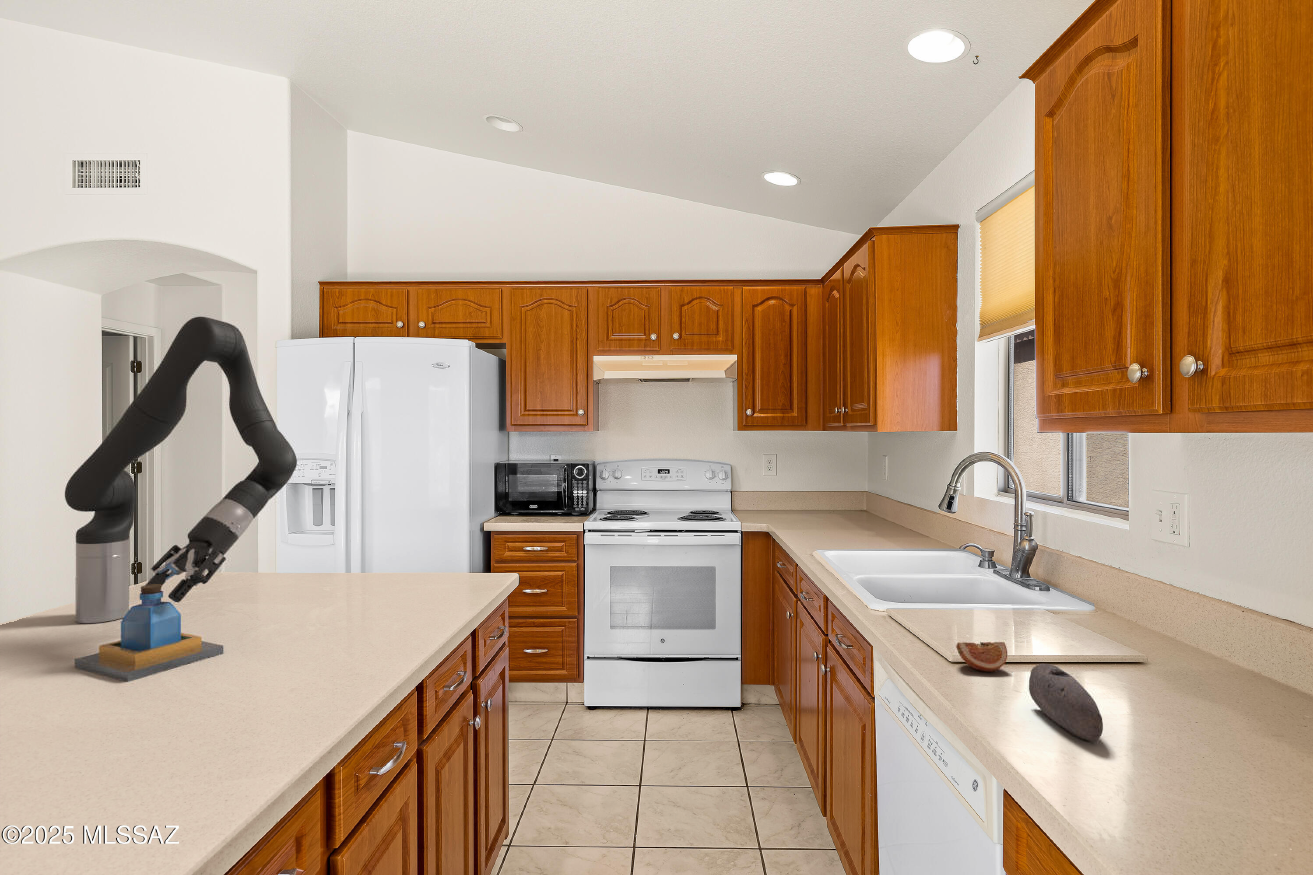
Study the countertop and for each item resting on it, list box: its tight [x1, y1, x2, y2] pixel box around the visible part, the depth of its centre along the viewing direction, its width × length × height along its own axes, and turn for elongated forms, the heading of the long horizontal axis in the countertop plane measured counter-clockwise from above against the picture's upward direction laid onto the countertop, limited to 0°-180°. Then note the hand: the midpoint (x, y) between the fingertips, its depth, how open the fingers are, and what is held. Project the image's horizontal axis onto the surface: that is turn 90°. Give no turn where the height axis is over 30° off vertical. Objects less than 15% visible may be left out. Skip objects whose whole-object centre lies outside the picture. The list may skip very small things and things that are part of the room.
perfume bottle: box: [120, 584, 182, 652], centre depth 124 cm, size 6×6×12 cm
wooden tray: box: [74, 632, 224, 683], centre depth 123 cm, size 16×16×4 cm
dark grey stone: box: [1028, 663, 1104, 742], centre depth 97 cm, size 15×5×7 cm, turn 175°
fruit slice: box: [955, 641, 1008, 673], centre depth 121 cm, size 8×7×5 cm
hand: (158, 597), depth 125 cm, fingers open, 8 cm apart
